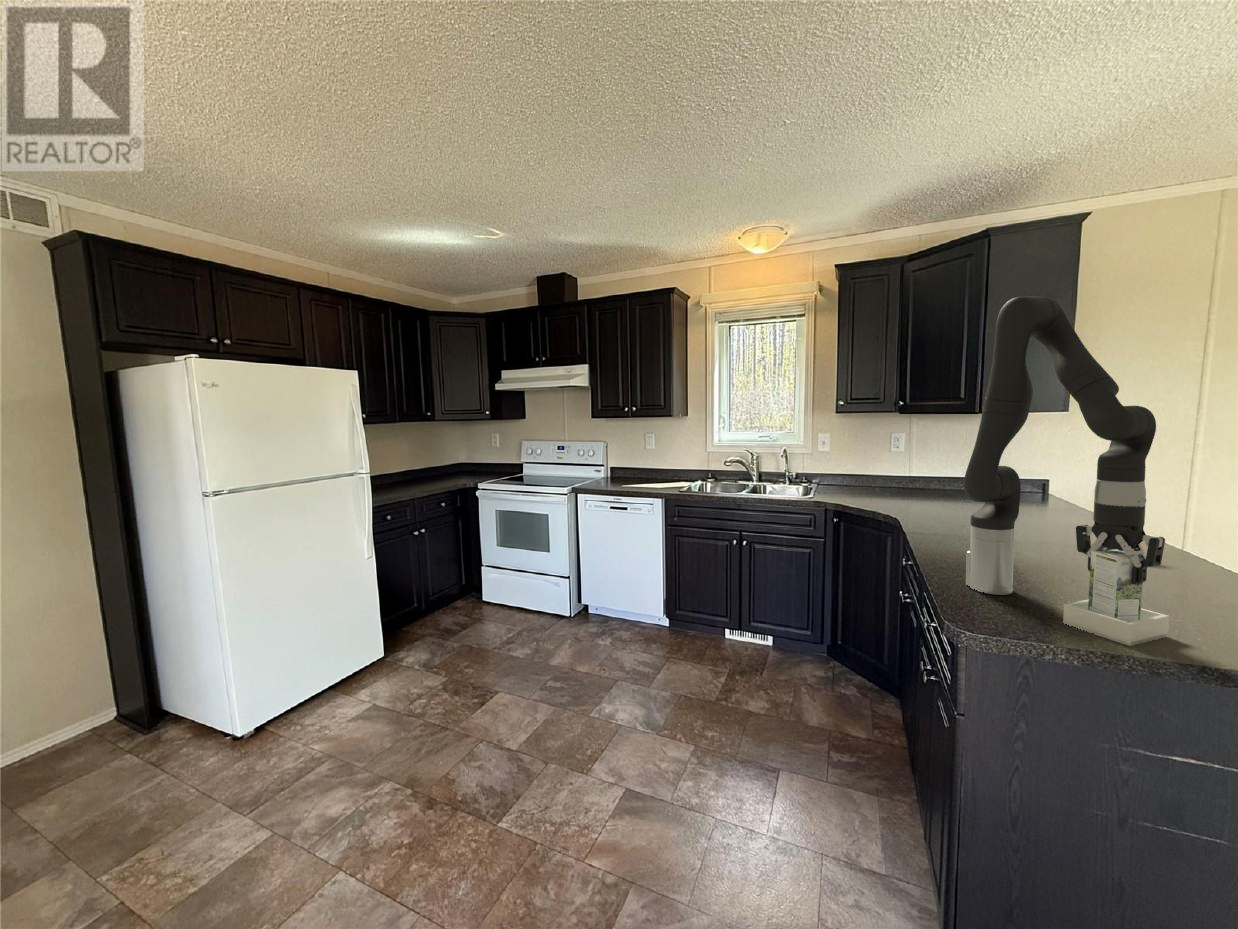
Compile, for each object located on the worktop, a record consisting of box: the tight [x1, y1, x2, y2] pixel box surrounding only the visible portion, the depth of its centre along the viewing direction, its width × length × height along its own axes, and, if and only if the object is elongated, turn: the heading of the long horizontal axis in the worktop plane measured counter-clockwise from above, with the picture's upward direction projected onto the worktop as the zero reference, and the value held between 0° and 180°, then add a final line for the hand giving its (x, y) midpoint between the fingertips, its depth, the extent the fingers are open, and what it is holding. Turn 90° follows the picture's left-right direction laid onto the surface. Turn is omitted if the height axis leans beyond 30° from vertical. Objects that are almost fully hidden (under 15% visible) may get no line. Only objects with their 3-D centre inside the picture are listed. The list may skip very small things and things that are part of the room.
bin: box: [1062, 598, 1170, 647], centre depth 104 cm, size 12×12×4 cm
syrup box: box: [1087, 550, 1144, 622], centre depth 103 cm, size 6×6×14 cm
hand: (1115, 578), depth 103 cm, fingers closed on syrup box, 6 cm apart
